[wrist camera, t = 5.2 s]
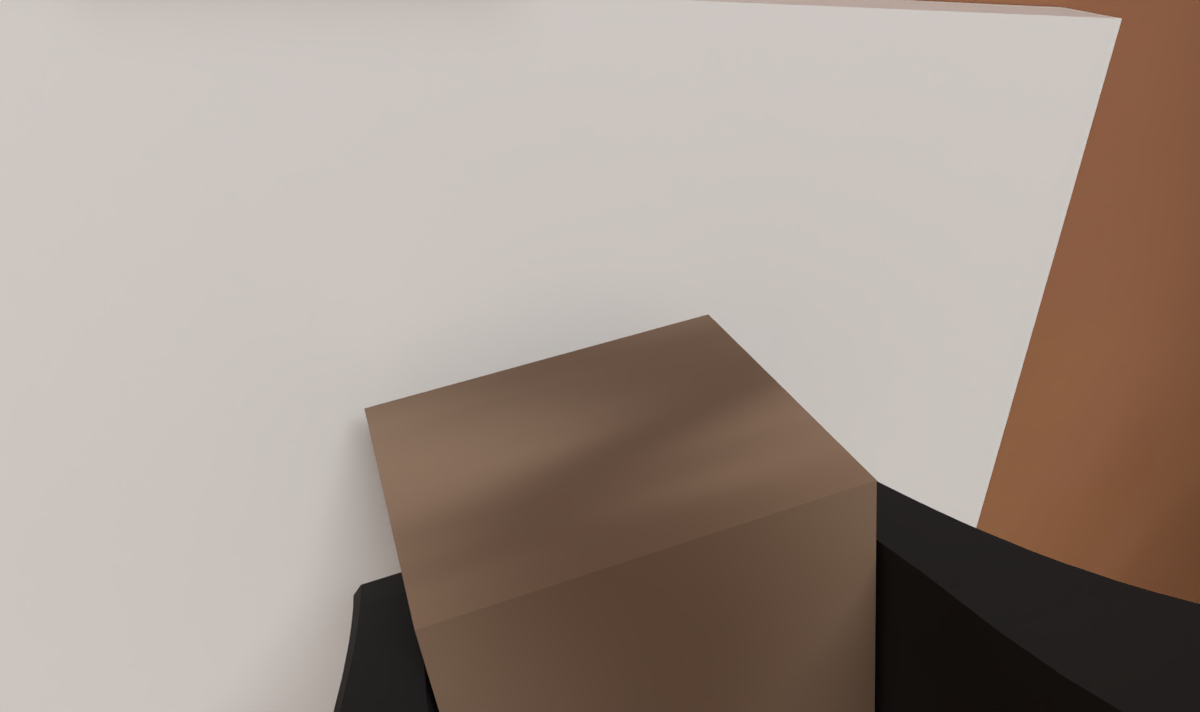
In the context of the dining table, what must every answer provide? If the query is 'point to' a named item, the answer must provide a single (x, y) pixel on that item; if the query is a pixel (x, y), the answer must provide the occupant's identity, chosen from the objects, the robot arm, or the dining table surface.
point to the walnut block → (632, 535)
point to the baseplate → (467, 274)
